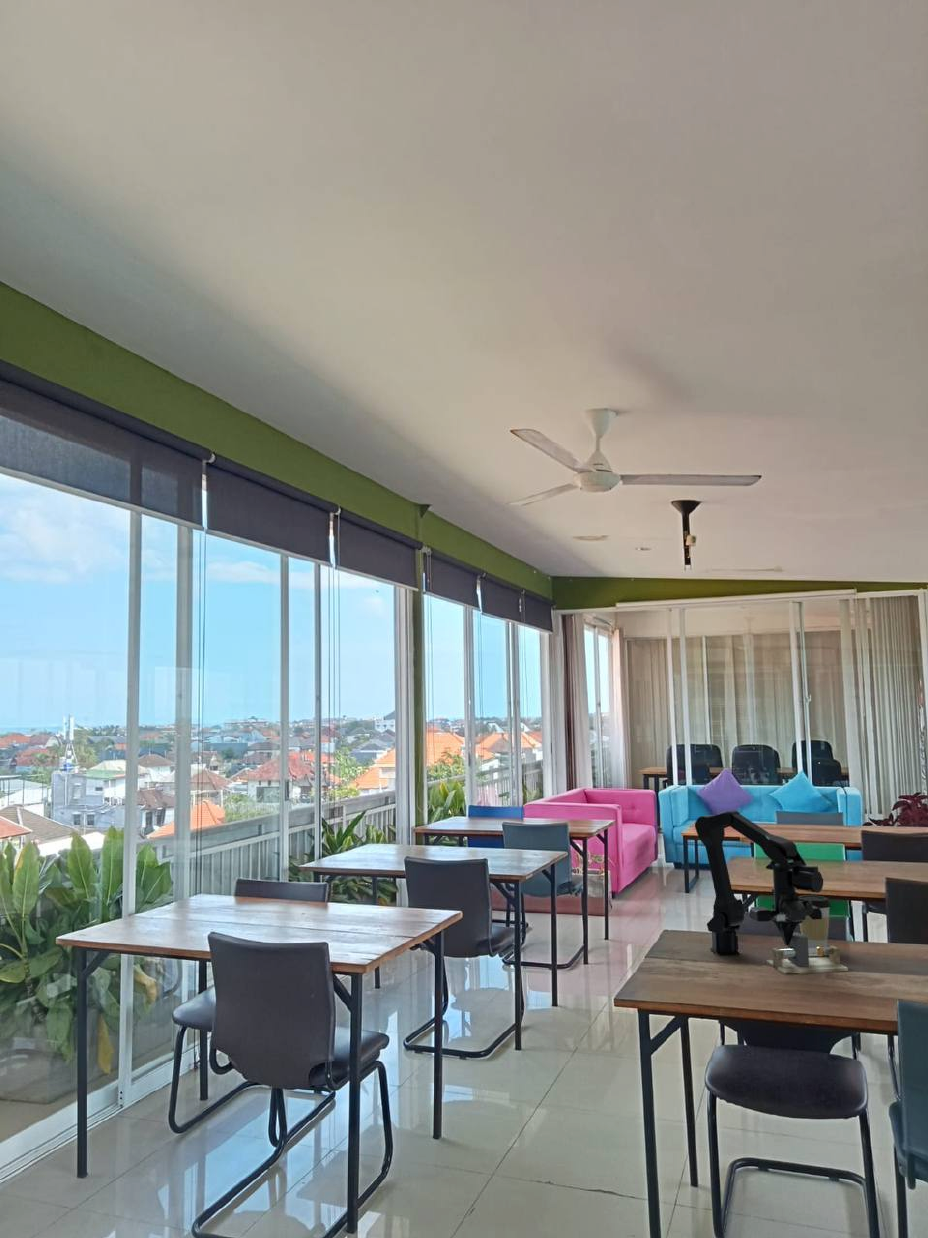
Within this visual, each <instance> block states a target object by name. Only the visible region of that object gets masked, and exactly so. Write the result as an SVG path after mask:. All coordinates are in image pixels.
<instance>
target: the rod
mask: <svg viewBox="0 0 928 1238" xmlns="http://www.w3.org/2000/svg"><path fill="white" fill-rule="evenodd" d="M780 950H781V951H782V958H788V957H793V956H796V950H795V949H788V948H781V949H780ZM773 951H774V952H775V955H774V957H776V955H777V954H776V951H775V950H773ZM808 953H809V956H810V957H811V956H812V957H813V956H814V957H815V956H816V957H817V956H818V957H822V956H823V957H824V956H829V955H833V954H834V951H833V948H832V947H829V946H827V947H816V948H808Z"/></svg>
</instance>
